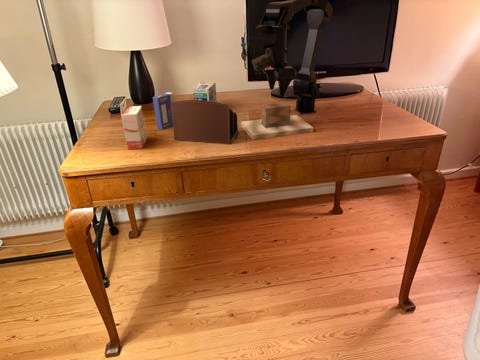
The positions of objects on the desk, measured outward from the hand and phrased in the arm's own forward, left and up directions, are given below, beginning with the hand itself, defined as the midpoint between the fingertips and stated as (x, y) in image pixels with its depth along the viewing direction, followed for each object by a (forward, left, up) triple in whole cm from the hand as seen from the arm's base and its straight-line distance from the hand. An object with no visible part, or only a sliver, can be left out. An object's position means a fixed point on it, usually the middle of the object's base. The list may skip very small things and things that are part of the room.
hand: (276, 93), depth 120 cm
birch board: (+1, +4, -12) cm, 12 cm away
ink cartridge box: (+49, +2, -12) cm, 51 cm away
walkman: (+38, -12, -12) cm, 42 cm away
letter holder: (+26, +3, -12) cm, 29 cm away
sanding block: (+2, +4, -10) cm, 11 cm away
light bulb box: (+21, -24, -12) cm, 35 cm away
